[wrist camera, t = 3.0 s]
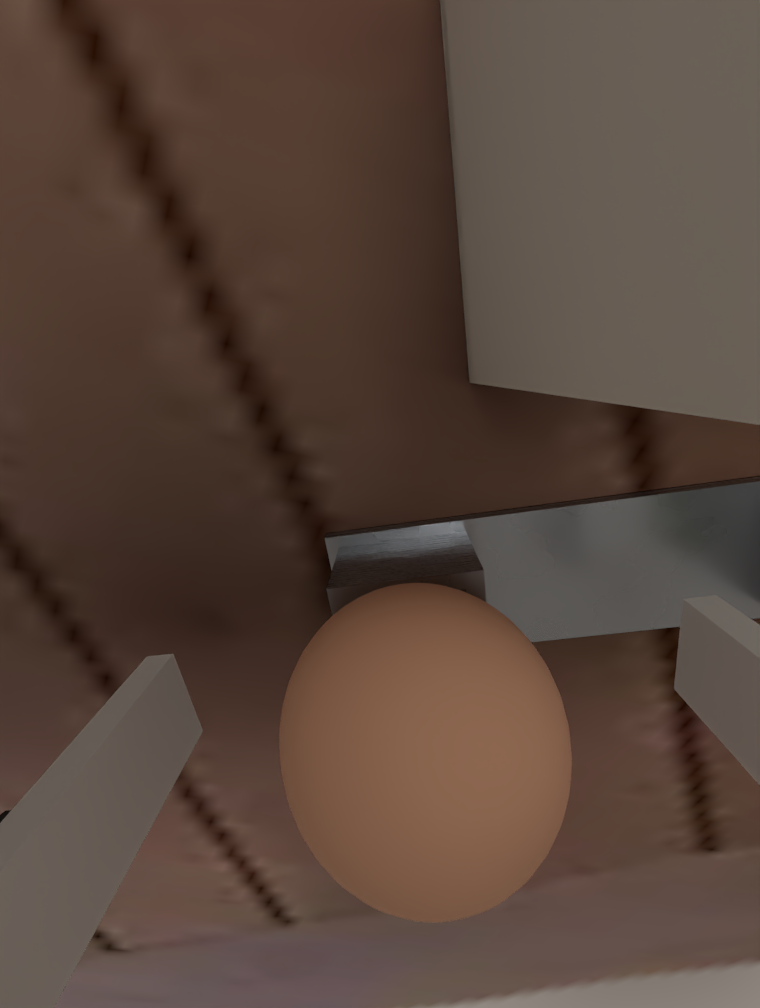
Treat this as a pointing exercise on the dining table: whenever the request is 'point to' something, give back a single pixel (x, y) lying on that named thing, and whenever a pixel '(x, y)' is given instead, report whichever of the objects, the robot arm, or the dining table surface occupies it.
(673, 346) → the open square box
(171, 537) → the dining table surface
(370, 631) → the ball terracotta
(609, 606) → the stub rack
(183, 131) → the dining table surface
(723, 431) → the dining table surface
